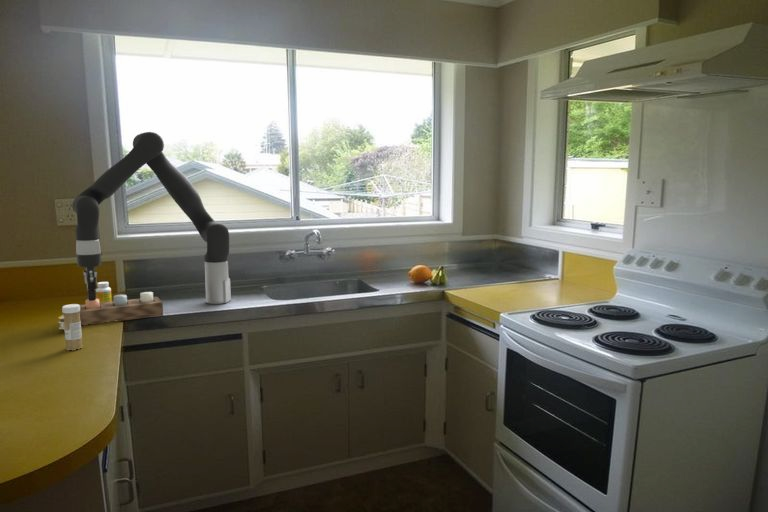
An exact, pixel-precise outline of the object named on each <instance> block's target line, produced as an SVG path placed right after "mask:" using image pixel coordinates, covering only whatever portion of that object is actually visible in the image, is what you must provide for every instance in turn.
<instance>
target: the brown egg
mask: <svg viewBox="0 0 768 512" xmlns="http://www.w3.org/2000/svg"><path fill="white" fill-rule="evenodd" d="M84 302H85V304H86V309H92V308H100V302H99V299H96V300H92V301H89V299H88V298H87V299H86V300H85V301H84Z"/></svg>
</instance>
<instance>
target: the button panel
mask: <svg viewBox="0 0 768 512" xmlns="http://www.w3.org/2000/svg"><path fill="white" fill-rule="evenodd" d="M79 305H80V321H81V325H83V326H89V325H88V324H91V325H97V324H96V323H99V324H103V323H102V322H107V323H109V322H108V321H115V320H120V321H129V320H138V319H145V318H152V317H153V318H154V317H160V316H164V306H163V305H164V304H163V301H162V300H161V299H160V298H159V297H158V296H153V302H146V303H141V300H140V298H133V299H127V305H119V306H114V300H112V302H103V303H100V308H92V309H86V303H85V304H79ZM120 321H119V322H120ZM115 322H116V321H115Z"/></svg>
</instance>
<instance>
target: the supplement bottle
mask: <svg viewBox="0 0 768 512" xmlns="http://www.w3.org/2000/svg"><path fill="white" fill-rule="evenodd" d="M109 284H110V283H109V281H100V282H97V283H96V289H95V296H96V299H99V302H100V303H103V302H112V301H113V299H112V297H113V296H112V288H111V287H110V286H109Z"/></svg>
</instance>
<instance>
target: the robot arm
mask: <svg viewBox="0 0 768 512" xmlns="http://www.w3.org/2000/svg"><path fill="white" fill-rule="evenodd" d="M132 147H133V148H131V150H130V151H129V152H128V153H127V154H126V155H125V156H124V157H123V158H121V159H120V160H119V161H118V162H116V163H115V164H113V165H112V166H110V168H108V169H107V170H106V171H105V172H103V173H102V174H101V175H100V176H99V177H98V178H97V179H96V180H95V181H94V182H93V183H92V184H91V185H90V186H89V187H87V188H86V189H84V190H83V191H82V192H80V193H79V195H77V196H76V197H75V198H74V200H73V201H72V203H71V205H72V210H73V211H74V212H75V213H76V219H77V224H76V226H75V240H76V245H75V249H76V250H75V251H76V262H77V263H76V264H77V267H79V268H85V270H83V271H82V273H83V276H84V282H85V286H86V290H87V296H88V297H87V300H88V299H89V301H92V300H96V289H97V283H98V282H97V276H98V272H97V269H95V267H99V266H101V265H102V252H101V243H100V233H99V221H100V220H99V219H100V205H101V204H102V203H103V202H104V201H105V200H108V199H109V198H111V197H112V196H113V195H114V194H115V193H116V192H117V191H118V190H119V189H120V188H122V186H123V185H124V184H125V183H126V182H128V180H129V179H130V178H131V177H132V176H133V175H134V174H135V173H137V171H139V170H140V169H141V168H142V167H143V166H145V165H147V166H148V167H149V168H150V169H151V171H152V172H153V173H154V175H155V176H156V178H157V179H158V180H159V182H160V183H161V185H162V186H163V187H164V188H165V190H166V191H167V192H168V195H170V197H171V198H172V200H173V201H174V202H175V203H176V204H177V206H178V207H179V208H180V209H181V210H182V212H183V213H184V214H185V215H186V217H188V218H189V220H190V221H191V222H192V224H193V225H194V227H195V229H196V230H197V233H199V235H200V238H202V240H203V241H204V242H206V253H205V254H204V256H203V257H204V259H203V260H204V278H205V279H204V282H205V302H206V303H207V304H211V305H218V304H221V305H222V304H228V303H229V302H230V301H231V298H232V297H231V296H232V294H231V292H232V291H231V278H230V277H229V258H228V257H229V254H230V234H229V233H230V232H229V229H228V227H227V226H226V225H225V224H224V223H221V222H217V221H215V220H214V218H213V217H212V216H211V215H210V214H209V213H208V211H207V210H206V208H205V207H204V204H203V201H202V199H201V197H200V195H199V192H198V191H197V189H196V188H195V186H194V184H193V183H191V181H190V180H189V178H188V177H187V176H186V175H185V174H184V173H183V172H182V171H180V170H179V169H178V168H177V167H176V166H175V165H173V164H172V163H171V162H170V160H168V158H167V157H166V155H165V154H164V152H163V151H164V149H165V143H164V139H163V138H162V136H161V135H160V134H158V133H157V132H154V131H153V132H152V131H146V132H141V133H139V134H137V135H136V136H135V137H134V138H133V141H132Z"/></svg>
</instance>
